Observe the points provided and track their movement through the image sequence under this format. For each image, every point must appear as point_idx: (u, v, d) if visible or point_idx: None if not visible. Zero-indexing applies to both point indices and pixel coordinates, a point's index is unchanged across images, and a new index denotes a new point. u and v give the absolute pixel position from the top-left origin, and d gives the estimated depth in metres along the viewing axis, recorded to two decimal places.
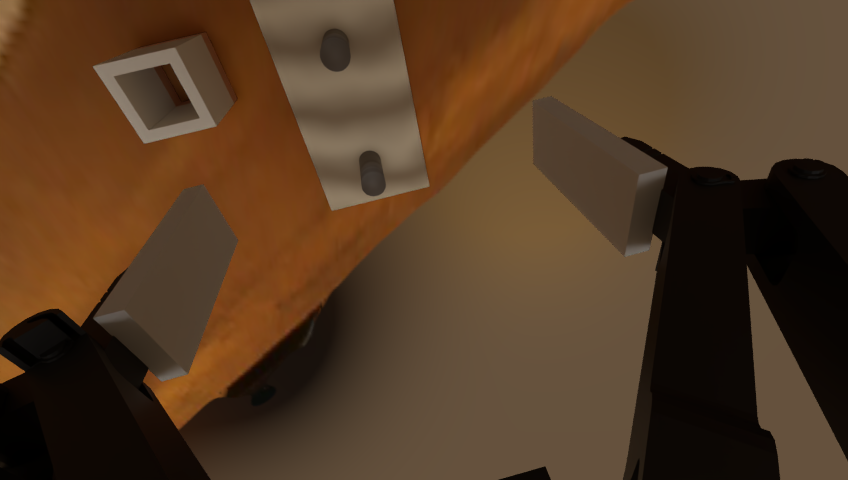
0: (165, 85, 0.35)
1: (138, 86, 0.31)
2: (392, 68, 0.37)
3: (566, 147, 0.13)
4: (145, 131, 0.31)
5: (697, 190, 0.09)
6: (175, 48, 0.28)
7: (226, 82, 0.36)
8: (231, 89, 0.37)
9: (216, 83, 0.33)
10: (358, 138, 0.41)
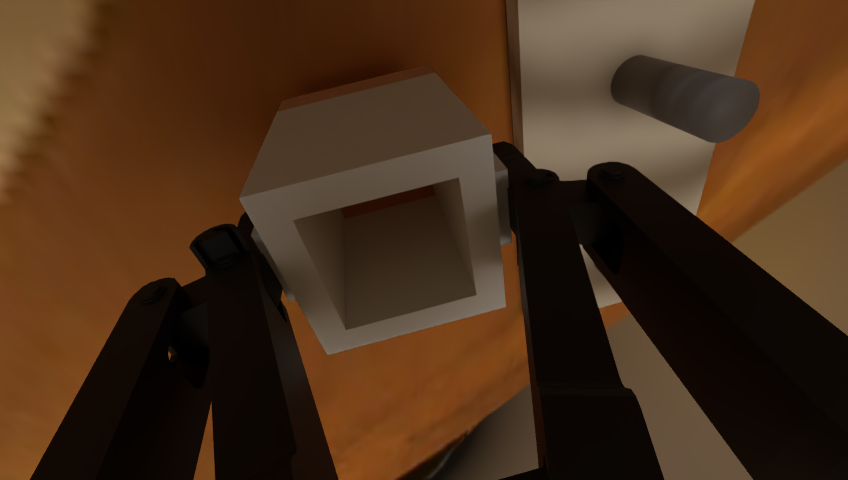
0: None
1: (316, 215, 0.12)
2: None
3: None
4: (338, 332, 0.12)
5: (530, 190, 0.10)
6: (489, 136, 0.09)
7: None
8: None
9: None
10: None
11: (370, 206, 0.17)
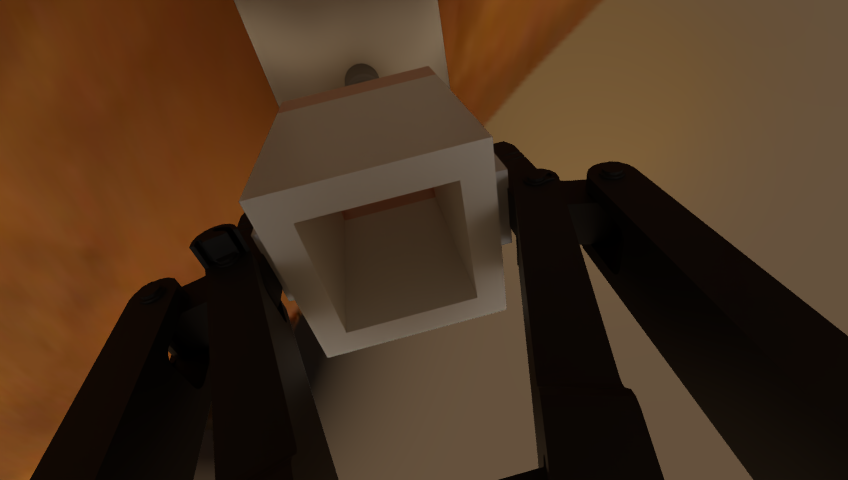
0: None
1: (317, 217, 0.12)
2: None
3: None
4: (338, 335, 0.12)
5: (530, 190, 0.10)
6: (490, 139, 0.09)
7: None
8: None
9: None
10: (342, 40, 0.24)
11: (370, 208, 0.17)
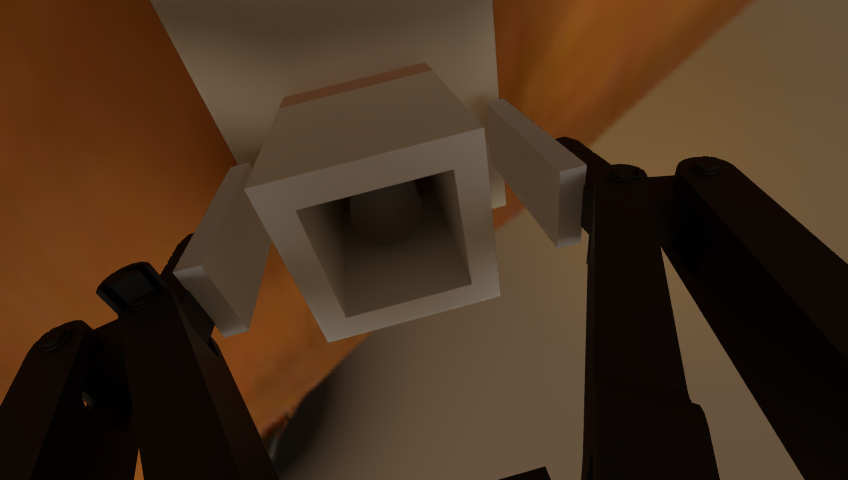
0: None
1: (317, 207, 0.12)
2: None
3: (511, 147, 0.14)
4: (338, 320, 0.12)
5: (612, 186, 0.09)
6: (482, 129, 0.09)
7: None
8: None
9: None
10: None
11: None
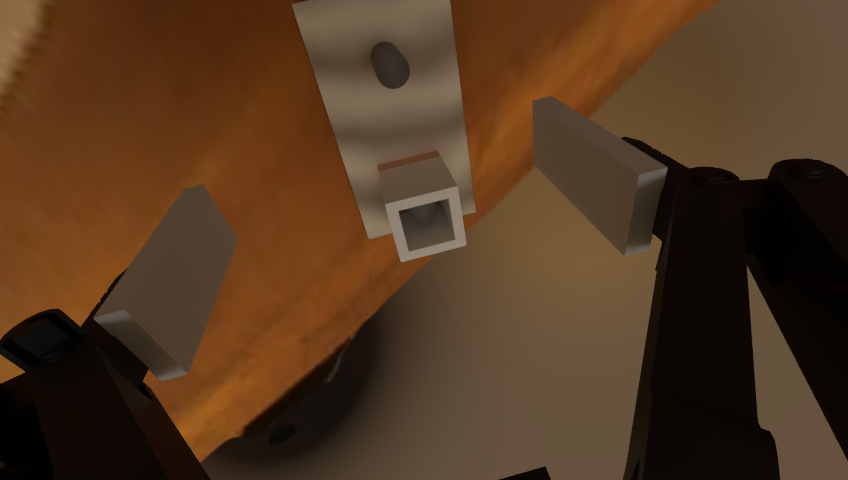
0: None
1: None
2: (445, 84, 0.33)
3: (566, 147, 0.13)
4: (406, 252, 0.33)
5: (697, 190, 0.09)
6: (457, 186, 0.30)
7: None
8: None
9: None
10: None
11: None
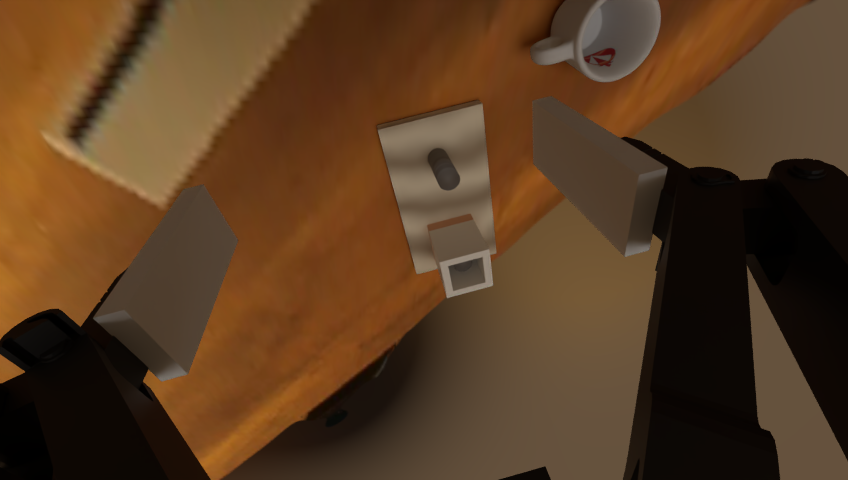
0: None
1: None
2: (477, 171, 0.47)
3: (566, 147, 0.13)
4: (451, 291, 0.47)
5: (697, 190, 0.09)
6: (488, 249, 0.44)
7: None
8: None
9: None
10: None
11: None
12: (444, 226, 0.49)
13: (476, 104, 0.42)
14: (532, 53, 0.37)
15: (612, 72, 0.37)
